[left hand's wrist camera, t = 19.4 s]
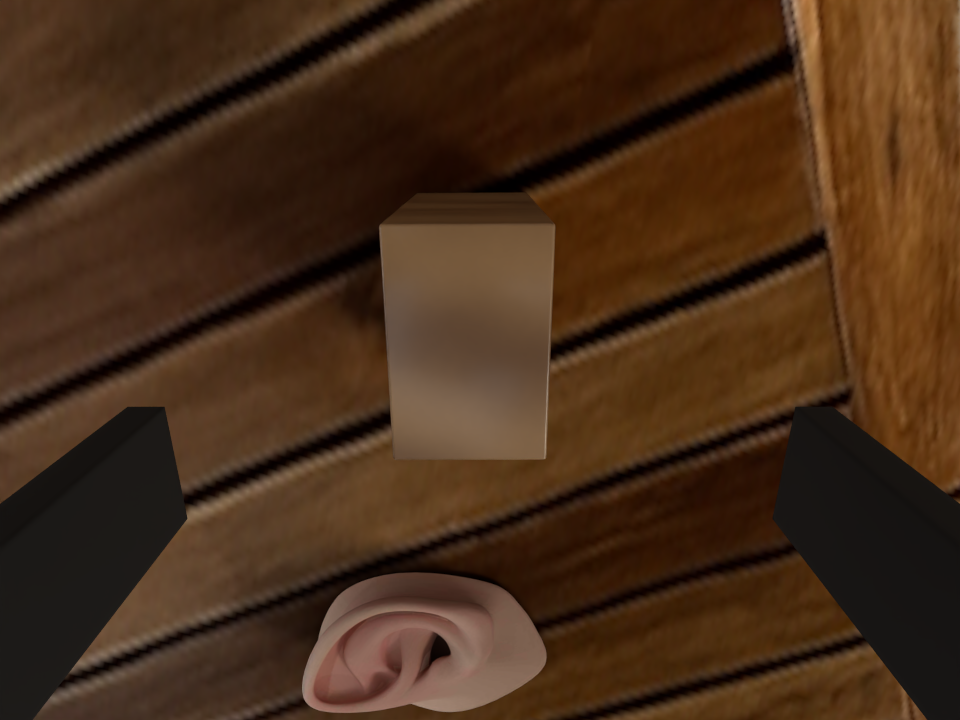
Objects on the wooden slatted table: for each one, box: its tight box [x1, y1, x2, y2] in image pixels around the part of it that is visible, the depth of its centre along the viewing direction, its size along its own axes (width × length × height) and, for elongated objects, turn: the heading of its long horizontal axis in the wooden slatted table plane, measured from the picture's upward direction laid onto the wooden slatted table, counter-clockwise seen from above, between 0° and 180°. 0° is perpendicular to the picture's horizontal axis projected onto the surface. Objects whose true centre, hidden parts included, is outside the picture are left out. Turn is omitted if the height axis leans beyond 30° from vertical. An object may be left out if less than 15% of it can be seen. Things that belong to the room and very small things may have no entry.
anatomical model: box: [302, 572, 547, 713], centre depth 35 cm, size 13×4×12 cm
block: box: [379, 193, 555, 460], centre depth 24 cm, size 8×5×11 cm
